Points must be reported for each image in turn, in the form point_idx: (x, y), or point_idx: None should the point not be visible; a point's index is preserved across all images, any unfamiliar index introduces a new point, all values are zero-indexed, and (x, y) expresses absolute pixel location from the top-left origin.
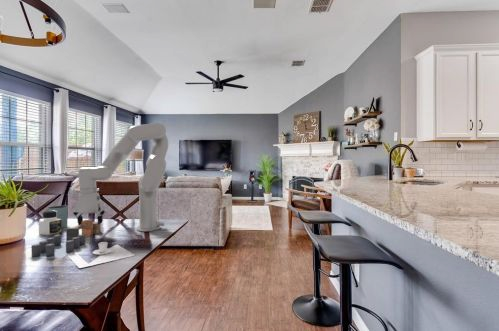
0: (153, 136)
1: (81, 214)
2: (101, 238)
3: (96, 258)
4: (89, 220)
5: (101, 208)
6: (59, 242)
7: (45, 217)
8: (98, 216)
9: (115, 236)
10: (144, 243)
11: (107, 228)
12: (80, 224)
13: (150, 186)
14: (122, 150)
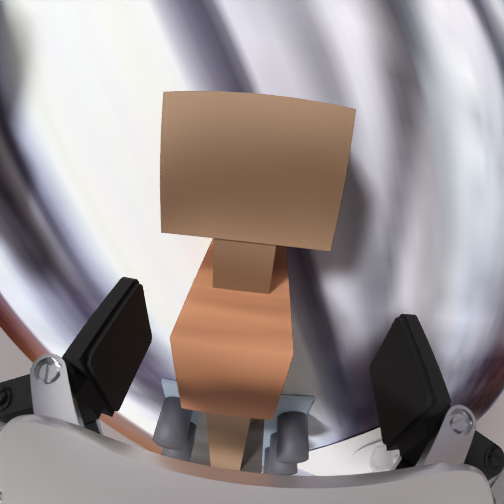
0: None
1: (76, 406)
2: (373, 334)
3: (363, 464)
4: (264, 395)
5: (490, 499)
6: (189, 422)
7: None
8: (396, 449)
9: (451, 302)
10: (496, 384)
11: None
12: (211, 423)
13: None
14: None
